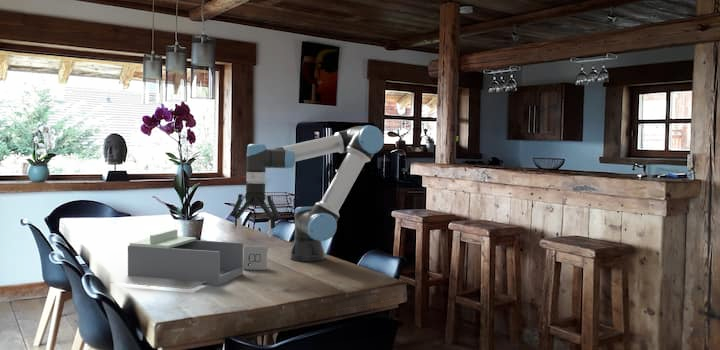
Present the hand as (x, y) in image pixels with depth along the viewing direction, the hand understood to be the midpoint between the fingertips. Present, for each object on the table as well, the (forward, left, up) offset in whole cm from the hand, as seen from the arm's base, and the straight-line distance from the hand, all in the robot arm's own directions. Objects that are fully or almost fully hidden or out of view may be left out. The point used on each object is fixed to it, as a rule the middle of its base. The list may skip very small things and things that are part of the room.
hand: (254, 235), depth 236 cm
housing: (+18, +21, -14) cm, 31 cm away
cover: (+28, +21, -1) cm, 35 cm away
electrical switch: (0, 0, -14) cm, 14 cm away
